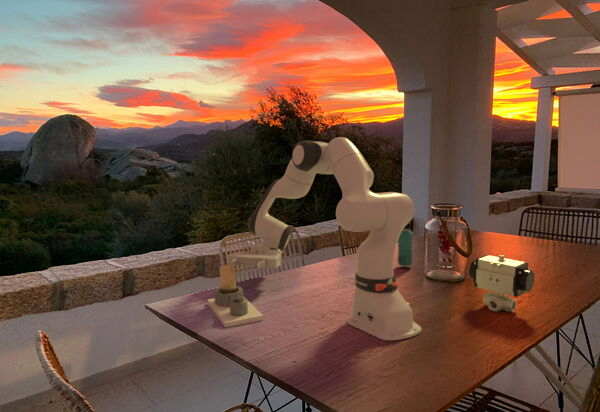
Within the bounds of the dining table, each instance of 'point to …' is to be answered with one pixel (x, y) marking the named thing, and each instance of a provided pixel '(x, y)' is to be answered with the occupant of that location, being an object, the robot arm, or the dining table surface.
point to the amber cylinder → (227, 279)
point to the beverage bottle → (405, 247)
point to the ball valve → (501, 280)
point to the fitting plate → (235, 319)
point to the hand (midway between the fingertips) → (244, 265)
